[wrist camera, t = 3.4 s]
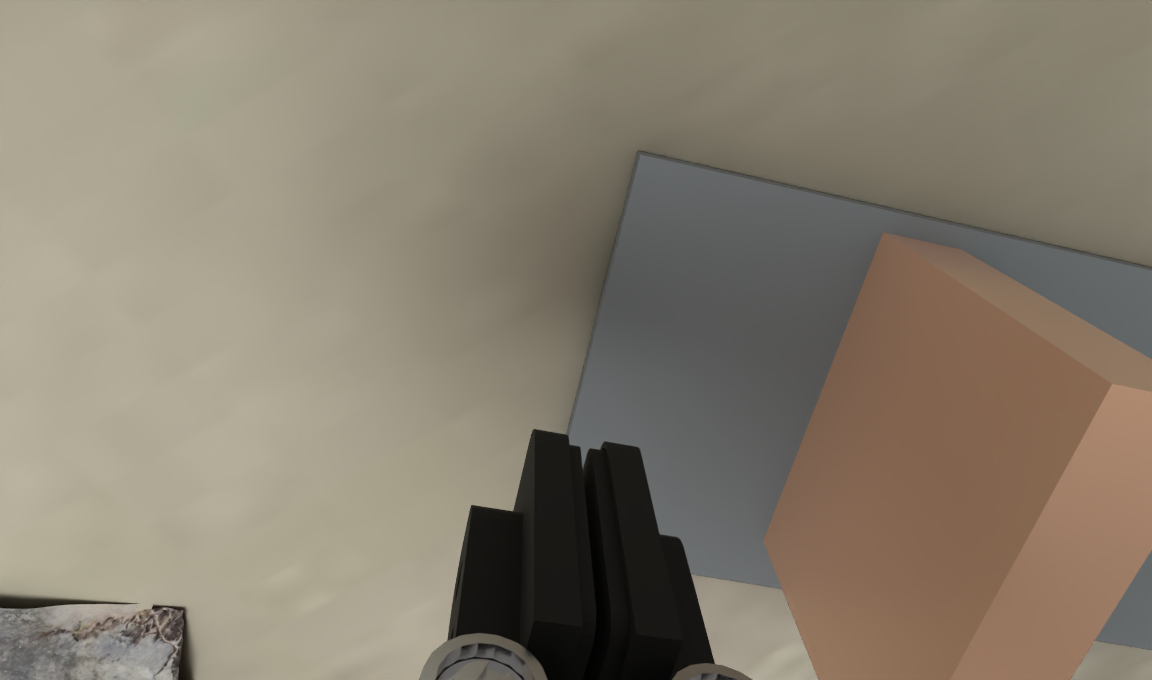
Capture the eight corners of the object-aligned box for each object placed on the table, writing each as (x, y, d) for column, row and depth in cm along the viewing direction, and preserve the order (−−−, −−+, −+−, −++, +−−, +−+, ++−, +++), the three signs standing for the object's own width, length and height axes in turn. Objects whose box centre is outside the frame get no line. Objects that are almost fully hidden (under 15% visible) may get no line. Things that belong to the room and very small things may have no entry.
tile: (963, 250, 18) (1242, 410, 11) (832, 552, 22) (977, 832, 14) (883, 231, 18) (1112, 384, 11) (763, 541, 21) (873, 818, 14)
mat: (1354, 313, 20) (1373, 320, 19) (1141, 638, 24) (1153, 650, 23) (638, 150, 18) (640, 154, 17) (540, 537, 22) (540, 549, 21)
